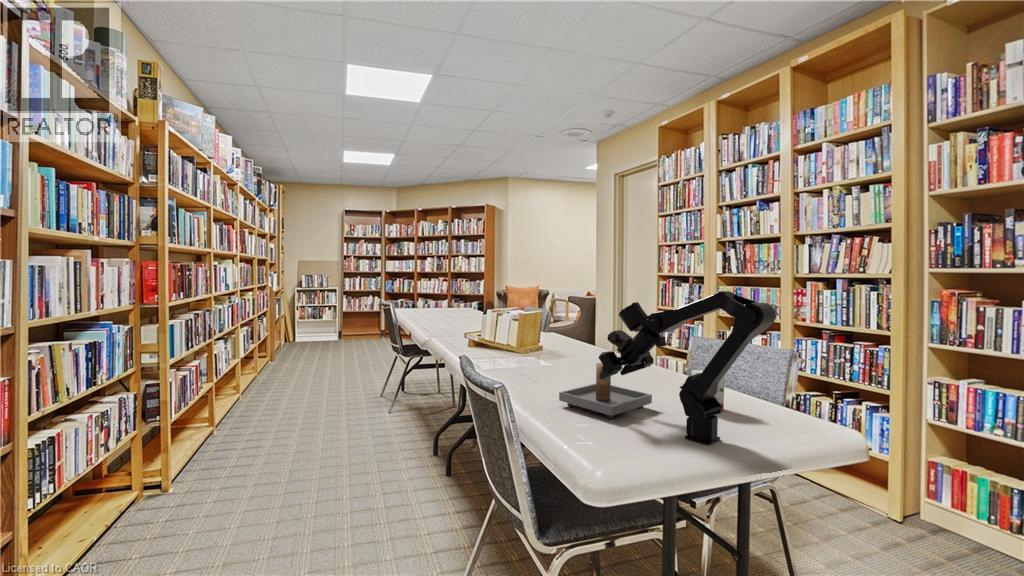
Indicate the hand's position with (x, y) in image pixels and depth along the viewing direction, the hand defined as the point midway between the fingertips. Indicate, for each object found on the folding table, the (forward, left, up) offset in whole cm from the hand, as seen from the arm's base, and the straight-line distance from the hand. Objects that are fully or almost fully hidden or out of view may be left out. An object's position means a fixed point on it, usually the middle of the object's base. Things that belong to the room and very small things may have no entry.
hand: (611, 375), depth 145 cm
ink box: (-18, -24, -11) cm, 32 cm away
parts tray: (+3, -1, -11) cm, 11 cm away
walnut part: (+3, 0, -8) cm, 9 cm away
